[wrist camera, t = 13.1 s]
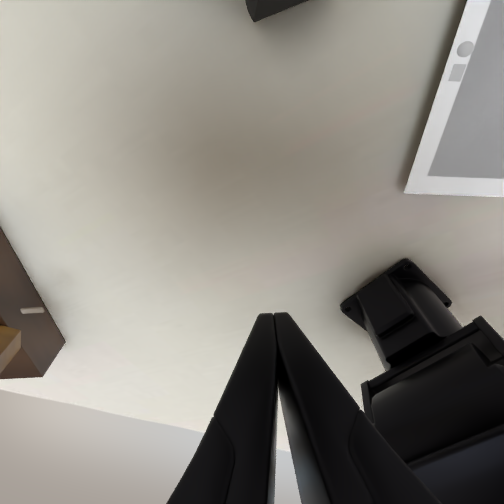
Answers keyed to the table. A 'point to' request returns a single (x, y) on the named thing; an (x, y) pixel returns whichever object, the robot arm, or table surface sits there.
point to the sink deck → (25, 319)
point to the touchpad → (467, 112)
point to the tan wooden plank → (8, 345)
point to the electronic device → (268, 7)
